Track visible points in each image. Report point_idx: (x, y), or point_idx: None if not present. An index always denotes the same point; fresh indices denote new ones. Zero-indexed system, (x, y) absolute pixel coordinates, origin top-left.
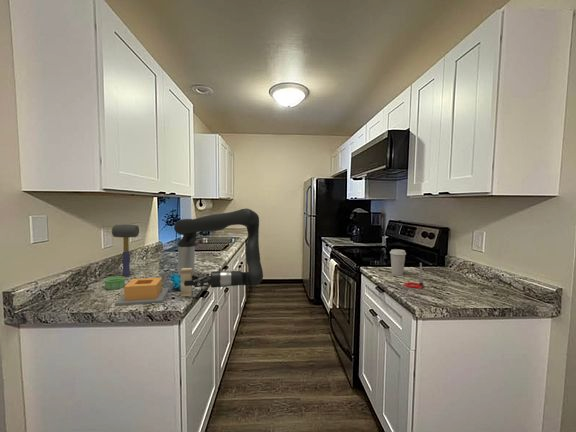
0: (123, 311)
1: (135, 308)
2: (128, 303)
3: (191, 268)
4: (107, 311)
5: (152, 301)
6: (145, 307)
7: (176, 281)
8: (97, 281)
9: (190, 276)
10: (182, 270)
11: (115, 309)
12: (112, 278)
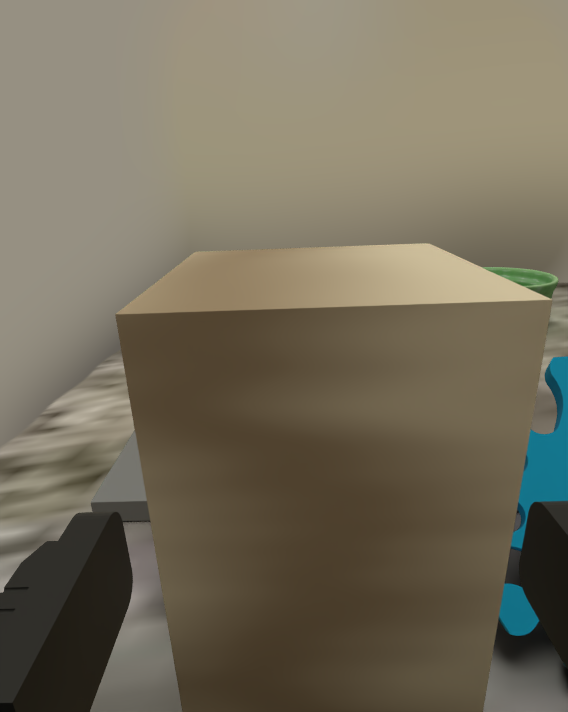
0: (63, 397)
1: (75, 422)
2: None
3: (426, 301)
4: (113, 363)
5: (120, 457)
6: (53, 454)
7: (545, 472)
8: (561, 287)
9: (163, 526)
10: (188, 258)
11: (123, 374)
12: (525, 276)
